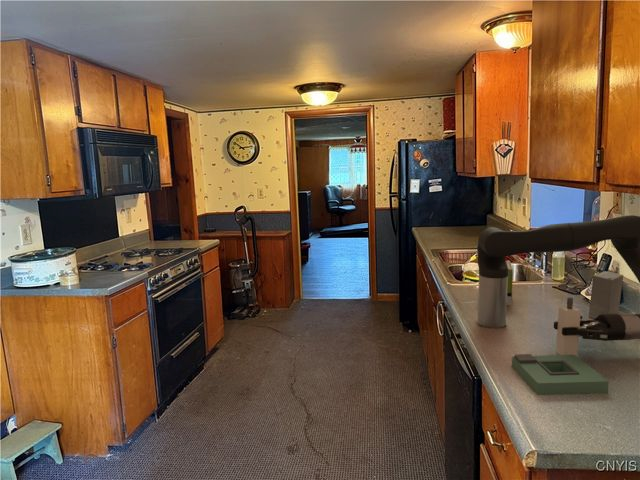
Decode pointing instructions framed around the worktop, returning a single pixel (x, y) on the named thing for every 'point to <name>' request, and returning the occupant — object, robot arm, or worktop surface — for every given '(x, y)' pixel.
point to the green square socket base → (558, 374)
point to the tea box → (509, 283)
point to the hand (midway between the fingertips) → (558, 328)
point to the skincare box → (605, 294)
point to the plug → (567, 318)
